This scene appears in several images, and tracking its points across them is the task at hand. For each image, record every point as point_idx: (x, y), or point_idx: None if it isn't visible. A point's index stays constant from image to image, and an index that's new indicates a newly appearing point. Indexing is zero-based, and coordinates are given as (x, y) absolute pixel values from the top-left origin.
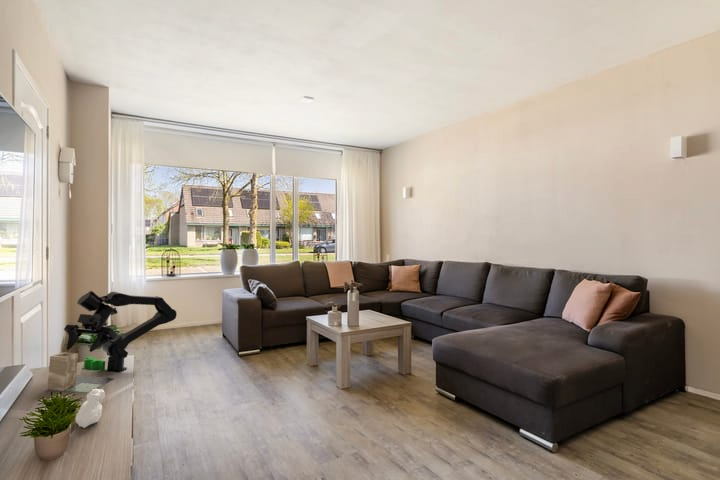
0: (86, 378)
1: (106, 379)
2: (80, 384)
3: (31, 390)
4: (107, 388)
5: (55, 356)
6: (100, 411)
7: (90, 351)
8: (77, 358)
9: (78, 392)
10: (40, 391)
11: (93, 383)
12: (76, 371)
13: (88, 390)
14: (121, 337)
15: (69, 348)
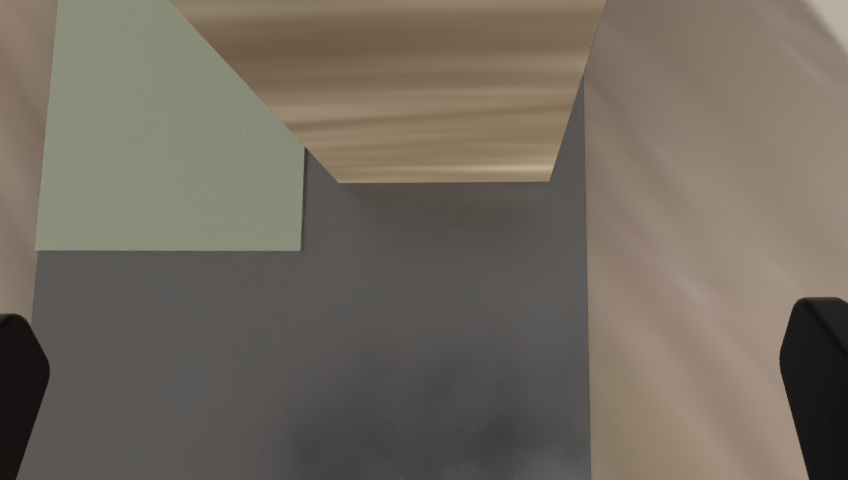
0: (377, 446)
1: (104, 468)
2: (282, 198)
3: (784, 39)
4: (21, 298)
5: None
6: None
7: (14, 336)
8: (199, 25)
9: None
10: (660, 38)
11: (168, 284)
12: (288, 124)
13: (69, 44)
14: None
15: (800, 404)
